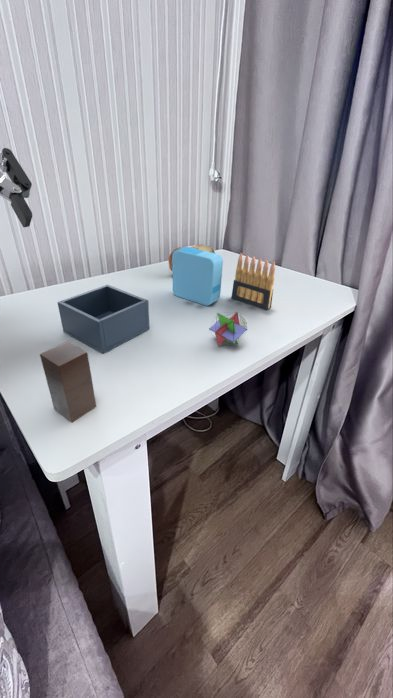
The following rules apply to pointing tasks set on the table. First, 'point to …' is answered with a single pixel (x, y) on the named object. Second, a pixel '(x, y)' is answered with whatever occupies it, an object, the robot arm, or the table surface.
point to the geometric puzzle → (229, 328)
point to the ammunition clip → (254, 283)
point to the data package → (197, 275)
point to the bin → (104, 317)
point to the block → (69, 380)
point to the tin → (200, 247)
